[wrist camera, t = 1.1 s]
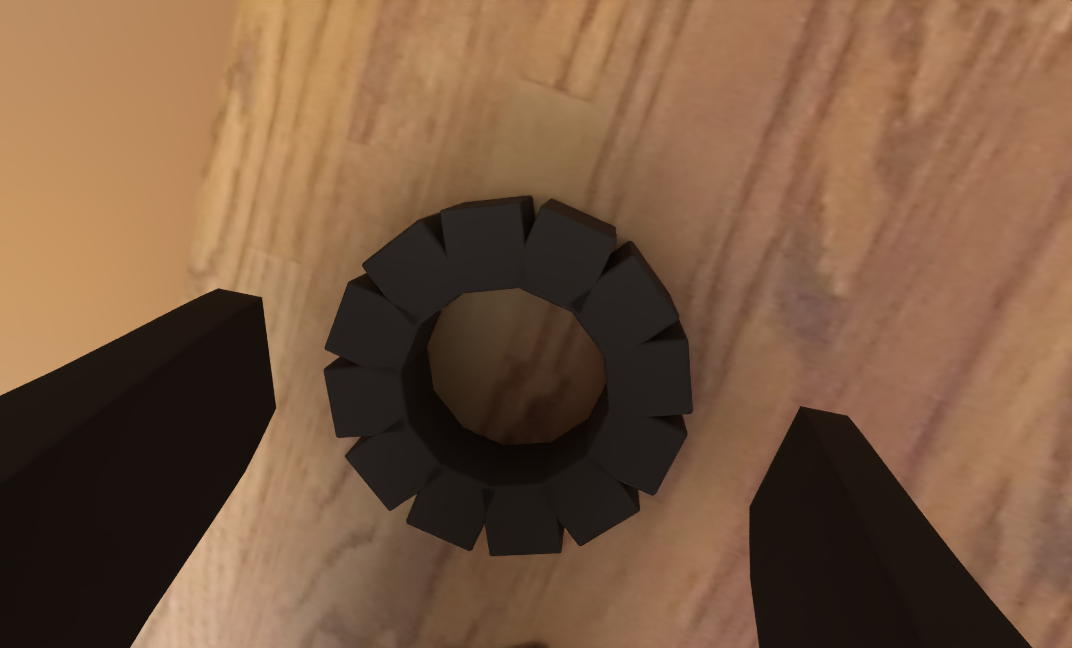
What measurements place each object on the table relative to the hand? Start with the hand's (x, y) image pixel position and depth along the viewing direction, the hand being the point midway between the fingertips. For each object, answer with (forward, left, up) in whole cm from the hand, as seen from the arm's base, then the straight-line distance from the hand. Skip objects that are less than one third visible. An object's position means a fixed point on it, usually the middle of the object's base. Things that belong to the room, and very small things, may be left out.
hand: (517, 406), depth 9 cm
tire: (-2, -2, -10) cm, 10 cm away
